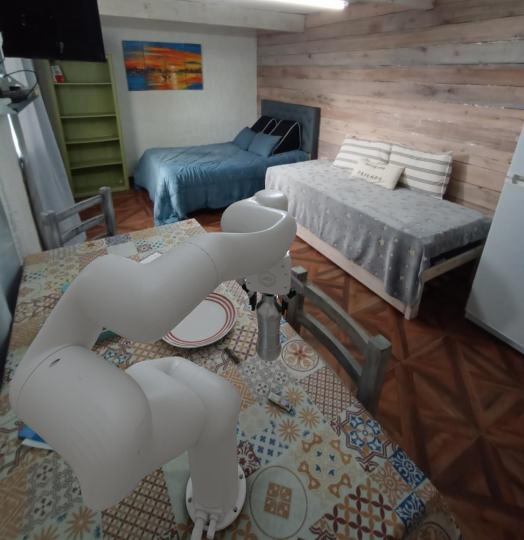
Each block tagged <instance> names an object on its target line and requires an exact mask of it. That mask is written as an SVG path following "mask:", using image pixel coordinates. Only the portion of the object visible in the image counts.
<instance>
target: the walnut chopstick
mask: <svg viewBox="0 0 524 540" xmlns="http://www.w3.org/2000/svg"><path fill="white" fill-rule="evenodd" d="M224 351H225V352H226V353H227V354H228V355H229V356H230V357H231V358H232V359H233V360H234V361H235V362H236V363H237V364H239V363H240V362H241V360H240V359H239V357H237V356H236V354H235V353H233V351H231V350H230V349H229V348H228V347H224Z"/></svg>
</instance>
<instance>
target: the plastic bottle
mask: <svg viewBox="0 0 524 540" xmlns="http://www.w3.org/2000/svg"><path fill="white" fill-rule="evenodd" d="M260 295H261V296H260V299H259V301H257V304H256V308H255V311H254V312H255V317H256V323H257V336H256V341H255V351H256V355H257V356H258V357H259V358H260V359H261V360H262V361H264V362H268V363H269V362H275V361H276V360H277V359H278V358H280V356H281V353H282V349H283V348H282V341H281V333H280V331H281V321H282V317H283V315H282V314H281V309H282V303H281V302H280V301H279V300H278V298H279V297H278V296H279V295H277V294H269V293H261V294H260Z"/></svg>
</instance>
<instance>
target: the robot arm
mask: <svg viewBox="0 0 524 540" xmlns="http://www.w3.org/2000/svg"><path fill="white" fill-rule="evenodd" d="M220 228H221V231H218V232H217V231H211V232H201V233H200V232H199V233H196V234H192V235H190V236H188V237H187V238H186V239H184V240H183V241H181V242H180V243H178V244H176V245H175V246H173V247H172V248H170V249H169V250H167V251H166V252H164V253H162V255H161V256H159V257H157V258H156V259H154V260H152V261H151V262H149V263H146V264H142V263H139V262H140V261H136V260H134V259H131V258H129V257H126V256H124V255H121V254H117V253H106V254H103V255H100V256H98V257H96V258H94V259H93V260H92V261H90V262H89V263H88V264H87V265H86V266H85V267H84V268H82V270H81V271H80V272H79V273H78V274H77V275H76V276H75V277H74V278H73V280H72V281H71V283H70V284H69V285H68V287H67V288H66V289H65V290H64V292H63V293H62V295H61V296H60V298H59V300H58V301H57V302H56V304H55V305H54V306H53V309H52V310H51V311H50V313H49V315H48V317H47V318H46V320H45V321H44V324H43V325H42V326H41V328H40V329H39V331H38V333H37V334H36V336H35V337H34V339H33V340H32V342H31V344H30V345H29V347H27V350H26V351H25V353H24V354H23V356H22V358H21V359H20V361H19V363H18V364H17V367H16V369H15V370H14V373H13V375H12V378H11V381H10V385H9V389H8V401H9V405H10V407H11V409H12V411H13V413H14V414H15V416H16V417H17V418H19V419H20V421H21V422H23V424H25V425H26V426H27V427H28V428H30V430H32V431H33V432H34V433H35V434H36V435H38V436H39V437H40V438H41V439H42V440H43V441H44V442H45V443H46V444H47V445H48V446H49V447H50V448H51V449H52V450H53V451H54V452H56V453H57V454H58V455H59V457H61V458H62V459H63V460H64V461H65V462H66V463H67V465H69V467H70V468H71V469H72V471H73V473H74V474H75V477H76V478H77V482H78V484H79V488H80V493H81V494H80V495H81V501H82V502H83V504H84V505H85V506H86V508H87V509H89V510H91V511H95V512H101V511H105V510H108V509H112V508H113V507H115V506H116V505H118V504H119V503H121V502H122V501H123V500H124V499H126V498H127V497H128V496H129V495H130V494H131V493H132V492H133V491H134V490H135V488H137V486H138V485H139V484H140V483H141V481H142V480H143V479H145V478H146V477H147V476H149V475H151V474H153V473H154V472H156V471H157V470H159V469H161V468H162V467H164V466H165V465H167V464H168V463H170V462H172V461H173V460H175V459H176V458H178V457H180V456H181V455H182V454H184V453H185V452H186V453H187V460H188V464H189V465H188V466H189V474H190V476H189V478H188V481H187V485H186V489H185V505H186V510H187V513H188V515H189V517H190V519H191V521H192V522H193V524H194V526H193V529H192V530H191V531H192V533H191V535H190V540H202V538H203V532H204V531H206V532H207V533H206V539H207V540H214V537H215V533H216V532H219V531H221V530H224V529H226V528H228V527H229V526H230V525H231V524H232V523H234V521H236V519H237V518H238V517H239V515H240V513H241V511H242V509H243V507H244V505H245V501H246V497H247V496H246V495H247V479H246V475H245V472H244V470H243V468H242V466H241V465H240V463H239V456H238V455H239V454H238V423H239V417H240V413H241V408H242V396H241V393H240V391H239V389H238V388H237V387H236V386H235V385H234V384H233V383H232V382H231V381H229V380H228V379H227V378H225V377H223V376H222V375H219V374H217V373H216V372H213V371H211V370H210V369H207V368H204V367H202V366H200V365H198V364H197V363H194V362H192V361H191V360H189V359H187V358H184V357H182V356H167V357H161V358H154V359H146V360H142V361H138V362H135V363H134V364H132V365H130V366H129V367H127V368H126V369H125V370H124V369H121V368H120V367H118V366H117V365H115V364H113V363H112V362H111V361H109V360H107V359H106V358H104V357H102V356H100V355H99V354H97V353H95V352H94V351H92V350H93V348H94V346H95V345H96V343H97V340H98V339H99V337H100V335H101V333H102V331H103V330H104V329H106V330H107V331H110V332H112V333H114V334H116V335H117V336H119V337H121V338H123V339H125V340H128V341H130V342H134V343H138V344H151V343H155V342H158V341H160V340H162V338H163V337H164V336H166V335H167V334H168V333H169V332H171V331H172V330H173V329H174V328H175V327H176V326H177V325H178V324H179V323H180V322H181V321H182V320H183V319H184V318H185V317H186V316H188V315H189V314H190V313H191V312H192V311H193V310H194V309H195V308H196V307H197V306H198V305H199V304H200V303H201V302H202V301H203V300H204V299H205V298H206V297H208V296H209V294H210V293H212V292H213V291H215V290H216V289H217V288H218V287H219V286H220V285H221V284H223V283H225V282H231V281H235V282H236V283H237V285H239V286H240V287H241V289H242V290H243V291H244V292H245V293H246V294H247V297H248V303H249V306H250V307H251V310H250V311H251V312H256V311H255V308H256V305H257V303H258V293H261V294H262V293H269V294H277V296H281V297H282V299H281V306H282V309H281V314H282V316H285V314H286V311H288V310H289V305H290V304H289V303H290V300H291V299H293V298H294V297H296V296H297V295H298V294H299V293H301V292H302V291H303V290H304V284H303V283H302V282H301V281H300V280H299V279H298V278H296V276H295V275H294V274H292V259H291V258H292V257H291V253H290V248H291V247H292V245H293V243H294V242H295V240H296V237H297V232H298V225H297V221H296V218H295V217H294V215H293V214H292V213H291V212H289V198H288V196H287V194H286V193H285V192H283V191H282V190H279V189H271V188H269V189H268V188H267V189H261V190H259V191H257V192H255V193H254V195H253V196H250V197H248V198H244V199H241V200H238V201H235V202H233V203H232V204H230V205H229V206H228V207H227V208H226V209H225V210H224V211H223V213H222V215H221V218H220ZM291 286H293V287H291ZM235 511H236V512H235Z"/></svg>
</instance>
